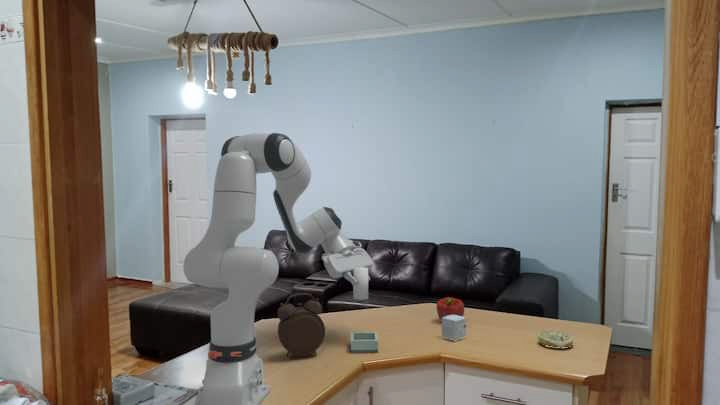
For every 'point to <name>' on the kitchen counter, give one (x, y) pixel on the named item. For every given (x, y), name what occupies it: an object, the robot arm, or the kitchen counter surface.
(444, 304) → the vegetable
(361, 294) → the cylinder
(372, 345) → the teal open box
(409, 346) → the kitchen counter surface
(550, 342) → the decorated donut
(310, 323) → the alarm clock
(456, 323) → the skincare box
